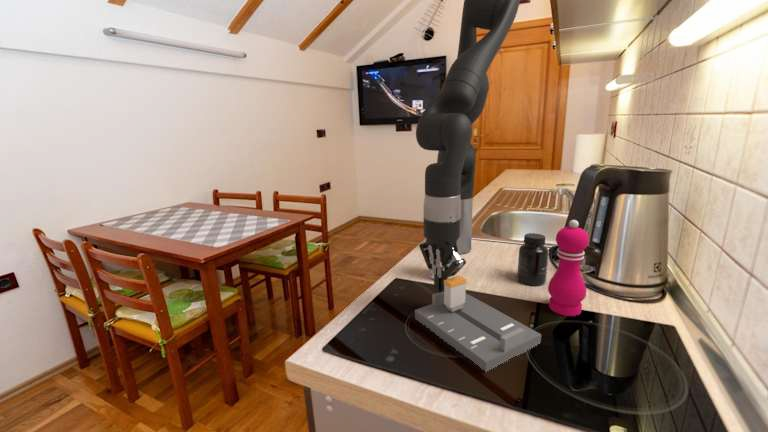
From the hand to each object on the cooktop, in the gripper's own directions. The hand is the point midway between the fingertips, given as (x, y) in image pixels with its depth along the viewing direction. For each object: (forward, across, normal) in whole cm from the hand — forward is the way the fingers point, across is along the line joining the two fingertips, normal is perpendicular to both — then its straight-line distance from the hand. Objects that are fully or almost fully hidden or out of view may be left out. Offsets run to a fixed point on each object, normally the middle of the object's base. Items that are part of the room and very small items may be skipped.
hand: (440, 290), depth 77 cm
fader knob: (+2, +5, 0) cm, 5 cm away
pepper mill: (+4, +15, +22) cm, 27 cm away
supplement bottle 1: (+5, -13, +11) cm, 18 cm away
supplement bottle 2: (+5, +2, +28) cm, 28 cm away
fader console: (+4, +10, 0) cm, 11 cm away
